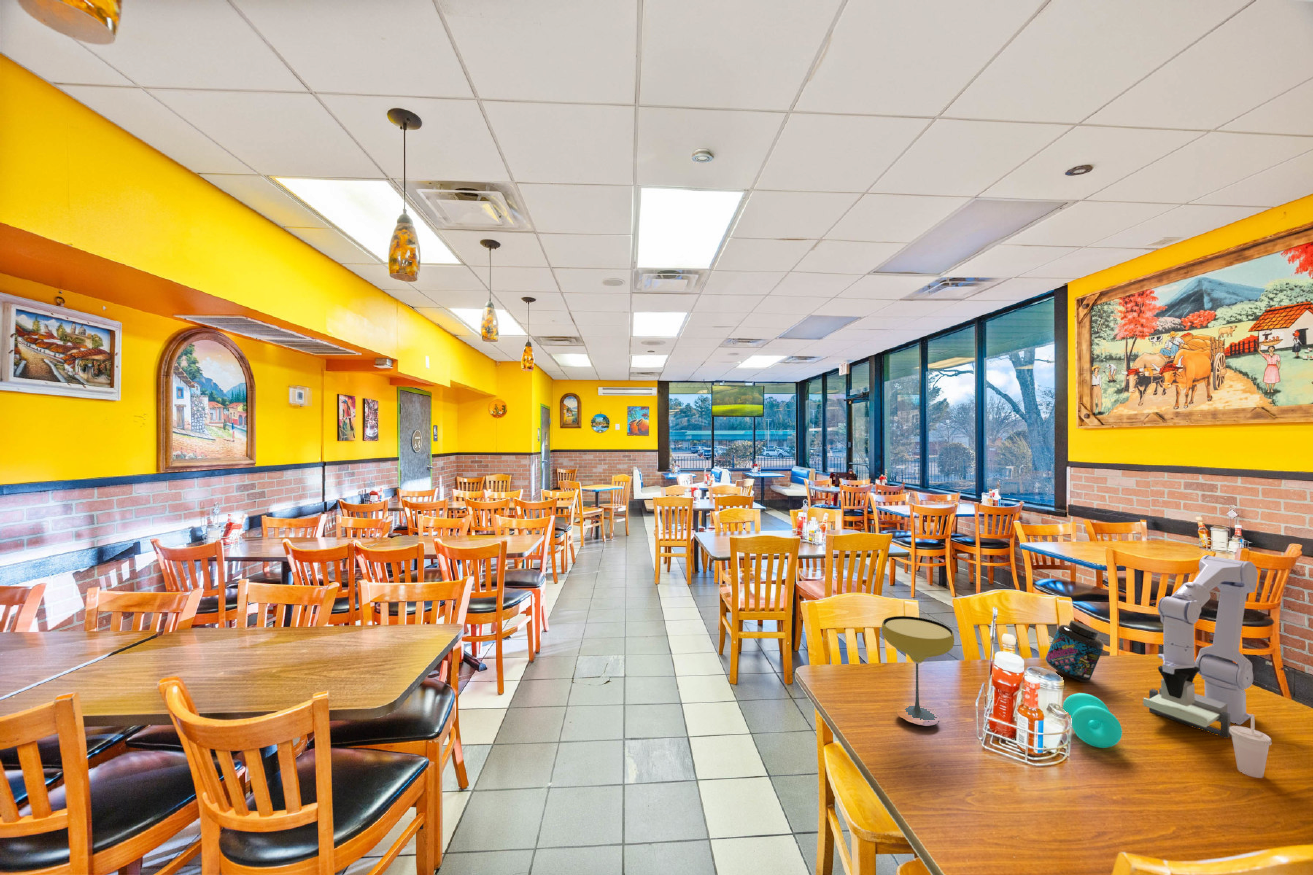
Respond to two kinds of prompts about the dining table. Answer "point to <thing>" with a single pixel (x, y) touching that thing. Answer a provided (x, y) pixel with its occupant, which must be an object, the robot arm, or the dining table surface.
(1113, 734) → the teal yo-yo
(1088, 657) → the container
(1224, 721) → the frame
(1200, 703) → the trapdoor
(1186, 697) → the grey cube
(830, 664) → the dining table surface
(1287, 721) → the dining table surface
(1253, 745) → the smoothie
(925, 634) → the cocktail glass
